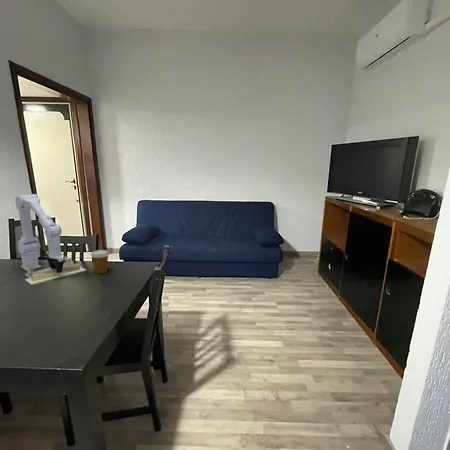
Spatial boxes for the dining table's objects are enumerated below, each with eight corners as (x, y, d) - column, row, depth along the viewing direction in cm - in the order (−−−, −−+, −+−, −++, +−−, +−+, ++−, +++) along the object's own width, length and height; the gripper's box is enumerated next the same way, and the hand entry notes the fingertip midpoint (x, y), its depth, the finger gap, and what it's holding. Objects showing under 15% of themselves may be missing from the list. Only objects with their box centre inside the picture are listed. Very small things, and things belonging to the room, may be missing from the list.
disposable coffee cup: (105, 275, 162) (104, 254, 159) (89, 274, 162) (87, 254, 159) (112, 269, 171) (111, 250, 168) (96, 268, 171) (95, 249, 169)
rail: (31, 279, 151) (30, 274, 150) (77, 268, 169) (77, 263, 169) (33, 281, 149) (33, 275, 148) (80, 269, 167) (79, 264, 167)
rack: (25, 274, 158) (23, 265, 157) (68, 264, 176) (67, 255, 175) (29, 278, 154) (28, 268, 153) (73, 267, 172) (72, 258, 171)
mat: (25, 280, 151) (25, 279, 151) (78, 266, 173) (78, 266, 173) (31, 285, 146) (31, 284, 146) (85, 270, 167) (85, 269, 167)
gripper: (67, 248, 155) (69, 272, 157) (56, 243, 163) (58, 265, 166) (53, 251, 149) (56, 275, 152) (43, 245, 158) (45, 268, 161)
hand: (56, 270), depth 159 cm, fingers open, 7 cm apart
